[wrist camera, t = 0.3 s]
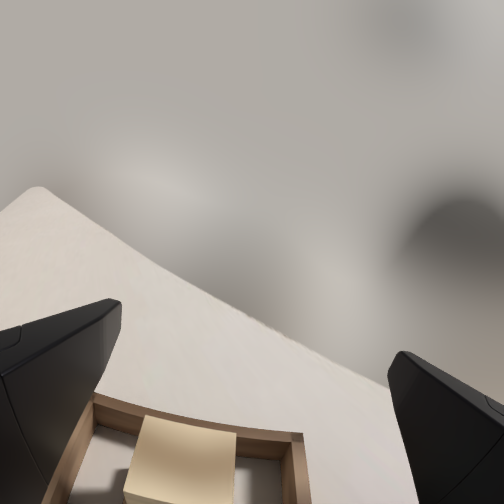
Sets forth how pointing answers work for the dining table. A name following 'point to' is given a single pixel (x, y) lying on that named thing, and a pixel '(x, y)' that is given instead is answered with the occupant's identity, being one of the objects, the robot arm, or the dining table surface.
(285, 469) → the wooden rectangular frame
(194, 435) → the beech block
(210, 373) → the dining table surface
